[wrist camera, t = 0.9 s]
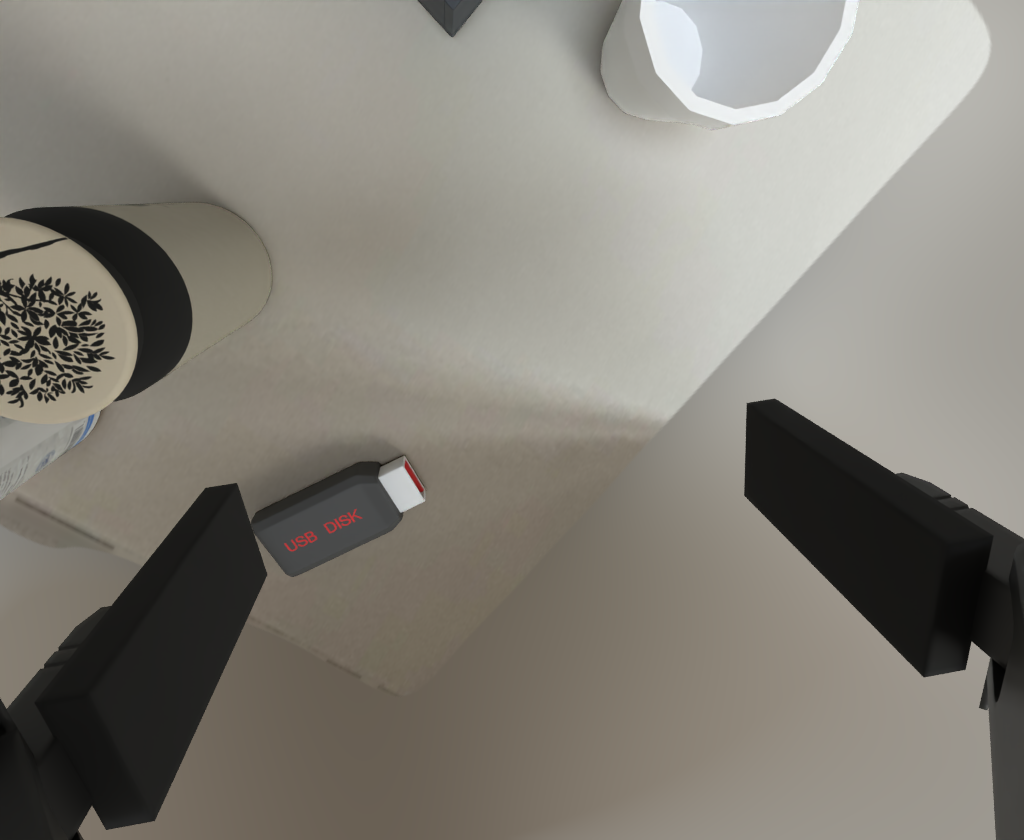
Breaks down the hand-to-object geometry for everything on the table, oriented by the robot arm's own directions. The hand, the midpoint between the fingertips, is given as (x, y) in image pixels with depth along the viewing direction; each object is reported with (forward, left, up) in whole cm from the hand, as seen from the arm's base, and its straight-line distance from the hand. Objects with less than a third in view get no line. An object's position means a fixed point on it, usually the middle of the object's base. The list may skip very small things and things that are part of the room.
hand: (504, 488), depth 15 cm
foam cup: (-2, +19, -27) cm, 33 cm away
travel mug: (-14, -9, -27) cm, 32 cm away
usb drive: (+3, -17, -27) cm, 32 cm away
